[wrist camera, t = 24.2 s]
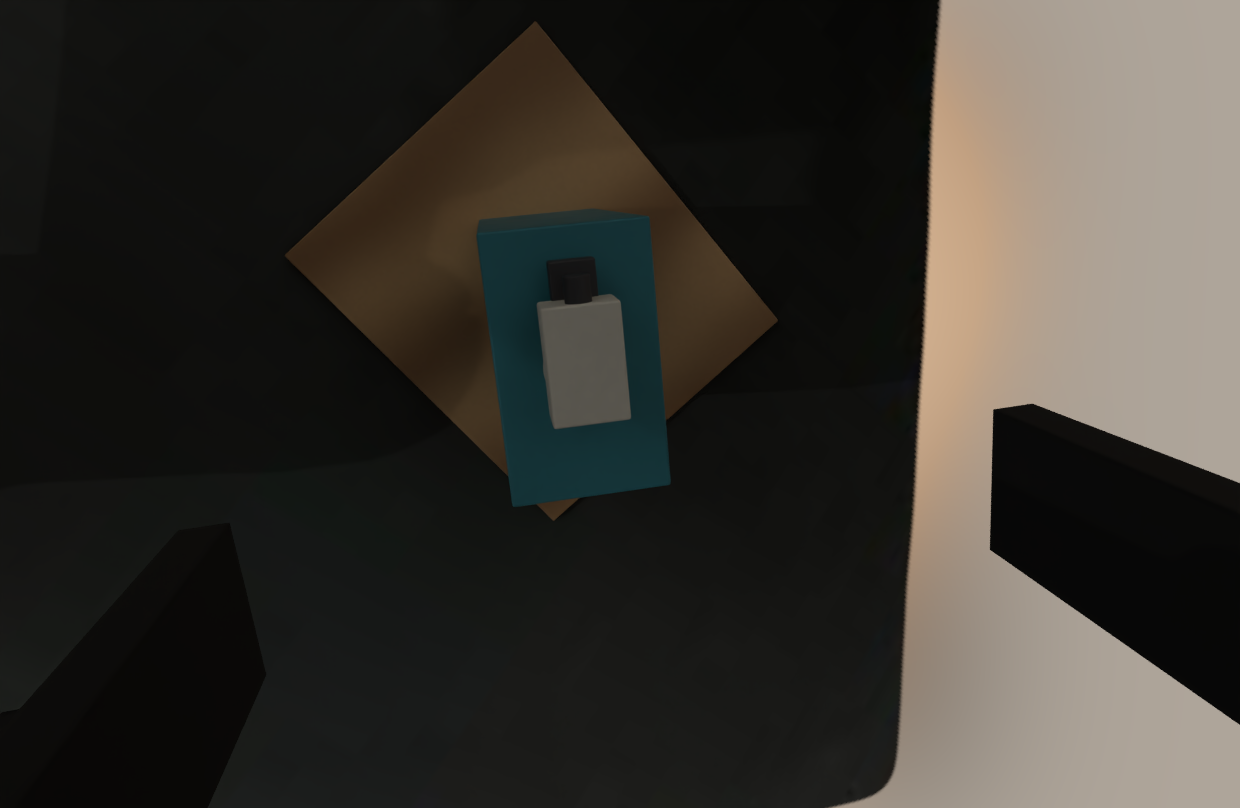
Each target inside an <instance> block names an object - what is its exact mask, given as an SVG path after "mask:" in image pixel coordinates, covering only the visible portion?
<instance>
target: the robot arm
mask: <svg viewBox="0 0 1240 808" xmlns="http://www.w3.org/2000/svg"><path fill="white" fill-rule="evenodd" d="M991 491H992V492H991V529H990V550H991V551H993V552H994V553H995V554H997V555H998V556H1000V557H1001V558H1003V559H1005V561H1007V562H1008V563H1010V564H1012V565H1013V566H1014V567H1015V568H1017V569H1018V570H1020V571H1021V572H1023V573H1024V574H1025V575H1027V576H1028V577H1030V578H1031V579H1033V580H1034V581H1036V582H1037V583H1038V584H1040V585H1041V586H1043V587H1044V588H1045V589H1047V590H1048V591H1050V592H1051V593H1053V594H1054V595H1055V596H1057V597H1058V598H1060V599H1061V600H1063V601H1064V602H1065V603H1067V604H1068V605H1070V606H1071V607H1073V608H1074V609H1075V610H1077V611H1078V612H1080V613H1081V614H1083V615H1084V616H1085V617H1087V618H1088V619H1090V620H1091V621H1093V622H1094V623H1095V624H1097V625H1098V626H1100V627H1101V628H1102V629H1104V630H1105V631H1107V632H1108V633H1110V634H1111V635H1112V636H1114V637H1115V638H1117V639H1118V640H1120V641H1121V642H1123V643H1124V644H1125V645H1127V646H1129V647H1130V648H1131V649H1133V650H1134V651H1135V652H1137V653H1138V654H1140V655H1141V656H1142V657H1144V658H1145V659H1147V660H1148V661H1150V662H1151V663H1152V664H1154V665H1155V666H1157V667H1158V668H1160V669H1161V670H1163V671H1164V672H1165V673H1167V674H1168V675H1170V676H1171V677H1173V678H1174V679H1175V680H1177V681H1178V682H1180V683H1181V684H1182V685H1184V686H1185V687H1187V688H1188V689H1190V690H1191V691H1192V692H1194V693H1195V694H1197V695H1198V696H1200V697H1201V698H1202V699H1204V700H1205V701H1207V702H1208V703H1210V704H1211V705H1212V706H1214V707H1215V708H1217V709H1218V710H1220V711H1221V712H1223V713H1224V714H1225V715H1227V716H1228V717H1229V718H1231V719H1232V720H1234V721H1235V722H1237V723H1238V724H1240V483H1238V482H1235V481H1233V480H1230V479H1227V478H1225V477H1222V476H1220V475H1217V474H1214V473H1211V472H1209V471H1207V470H1204V469H1201V468H1199V467H1196V466H1193V465H1191V464H1188V463H1186V462H1183V461H1181V460H1178V459H1175V458H1173V457H1170V456H1168V455H1165V454H1162V453H1160V452H1157V451H1154V450H1152V449H1149V448H1147V447H1144V446H1141V445H1139V444H1136V443H1134V442H1131V441H1128V440H1126V439H1123V438H1121V437H1118V436H1115V435H1113V434H1110V433H1107V432H1105V431H1102V430H1099V429H1097V428H1094V427H1092V426H1089V425H1087V424H1084V423H1081V422H1079V421H1076V420H1073V419H1071V418H1068V417H1066V416H1063V415H1061V414H1058V413H1055V412H1052V411H1050V410H1047V409H1045V408H1042V407H1040V406H1037V405H1034V404H1027V405H1021V406H1014V407H1008V408H1001V409H994V410H993V449H992V490H991ZM265 676H266V672H265V668H264V664H263V660H262V655H261V651H260V647H259V643H258V639H257V635H256V631H255V626H254V622H253V618H252V614H251V610H250V606H249V602H248V597H247V593H246V589H245V585H244V581H243V577H242V573H241V568H240V564H239V560H238V556H237V552H236V548H235V544H234V539H233V535H232V531H231V527H230V523H225V524H218V525H212V526H205V527H198V528H191V529H185V530H178V532H177V533H176V534H175V535H174V536H173V537H172V538H171V539H170V541H169V542H168V543H167V544H166V545H165V546H164V547H163V548H162V550H161V551H160V552H159V553H158V554H157V555H156V556H155V557H154V559H153V560H152V561H151V562H150V563H149V564H148V565H147V566H146V568H145V569H144V570H143V571H142V572H141V573H140V574H139V575H138V577H137V578H136V579H135V580H134V581H133V582H132V583H131V584H130V586H129V587H128V588H127V589H126V590H125V591H124V592H123V594H122V595H121V596H120V597H119V598H118V599H117V600H116V601H115V603H114V604H113V605H112V606H111V607H110V608H109V609H108V610H107V612H106V613H105V614H104V615H103V616H102V617H101V618H100V619H99V621H98V622H97V623H96V624H95V625H94V626H93V627H92V628H91V630H90V631H89V632H88V633H87V634H86V635H85V636H84V637H83V639H82V640H81V641H80V642H79V643H78V644H77V645H76V646H75V648H74V649H73V650H72V651H71V652H70V653H69V654H68V655H67V657H66V658H65V659H64V660H63V661H62V662H61V663H60V664H59V666H58V667H57V668H56V669H55V670H54V671H53V672H52V673H51V675H50V676H49V677H48V678H47V679H46V680H45V681H44V682H43V684H42V685H41V686H40V687H39V688H38V689H37V690H36V692H35V693H34V694H33V695H32V696H31V697H30V698H29V699H28V701H27V702H26V703H25V704H24V705H23V706H22V707H21V708H20V709H18V710H13V711H7V712H2V713H1V714H0V808H208V806H209V803H210V801H211V799H212V797H213V794H214V792H215V790H216V788H217V785H218V783H219V781H220V778H221V776H222V774H223V772H224V769H225V767H226V765H227V763H228V760H229V758H230V756H231V753H232V751H233V749H234V747H235V744H236V742H237V740H238V738H239V735H240V733H241V731H242V729H243V726H244V724H245V722H246V719H247V717H248V715H249V713H250V710H251V708H252V706H253V704H254V701H255V699H256V697H257V695H258V692H259V690H260V688H261V685H262V683H263V681H264V679H265Z"/></svg>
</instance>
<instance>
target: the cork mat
mask: <svg viewBox="0 0 1240 808" xmlns="http://www.w3.org/2000/svg"><path fill="white" fill-rule="evenodd" d="M591 208H594V209H601V210H608V211H615V212H623V213H630V214H637V215H644V216H649V218H650V228H651V241H652V253H653V266H654V279H655V291H656V304H657V316H658V329H659V342H660V354H661V367H662V379H663V392H664V405H665V417H666V420H667V419H668V418H670V417H671V416H672V415H673V414H674V413H675V412H676V411H677V410H678V409H680V408H681V407H682V406H683V405H684V404H685V403H686V402H687V401H689V400H690V399H691V398H692V397H693V396H694V395H695V394H696V393H698V392H699V391H700V390H701V389H702V388H703V387H704V386H705V385H707V384H708V383H709V382H710V381H711V380H712V379H713V378H714V377H715V376H717V375H718V374H719V373H720V372H721V371H722V370H723V369H724V368H726V367H727V366H728V365H729V364H730V363H731V362H732V361H733V360H735V359H736V358H737V357H738V356H739V355H740V354H741V353H742V352H743V351H745V350H746V349H747V348H748V347H749V346H750V345H751V344H752V343H754V342H755V341H756V340H757V339H758V338H759V337H760V336H761V335H763V334H764V333H765V332H766V331H767V330H768V329H769V328H770V327H772V326H773V325H774V324H775V323H776V322H777V321H778V319H777V318H776V317H775V316H774V314H773V313H772V312H771V311H770V310H769V308H768V307H767V306H766V305H765V303H764V302H763V301H762V300H761V298H760V297H759V296H758V295H757V294H756V292H755V291H754V290H753V289H752V287H751V286H750V285H749V284H748V282H747V281H746V280H745V279H744V277H743V276H742V275H741V274H740V273H739V271H738V270H737V269H736V268H735V266H734V265H733V264H732V263H731V261H730V260H729V259H728V258H727V256H726V255H725V254H724V253H723V252H722V250H721V249H720V248H719V247H718V245H717V244H716V243H715V242H714V240H713V239H712V238H711V237H710V236H709V234H708V233H707V232H706V231H705V229H704V228H703V227H702V226H701V224H700V223H699V222H698V221H697V219H696V218H695V217H694V216H693V215H692V213H691V212H690V211H689V210H688V208H687V207H686V206H685V205H684V203H683V202H682V201H681V200H680V199H679V197H678V196H677V195H676V194H675V192H674V191H673V190H672V189H671V187H670V186H669V185H668V184H667V182H666V181H665V180H664V179H663V178H662V176H661V175H660V174H659V173H658V171H657V170H656V169H655V168H654V166H653V165H652V164H651V163H650V162H649V160H648V159H647V158H646V157H645V155H644V154H643V153H642V152H641V150H640V149H639V148H638V147H637V145H636V144H635V143H634V142H633V141H632V139H631V138H630V137H629V136H628V134H627V133H626V132H625V131H624V129H623V128H622V127H621V126H620V124H619V123H618V122H617V121H616V120H615V118H614V117H613V116H612V115H611V113H610V112H609V111H608V110H607V108H606V107H605V106H604V105H603V104H602V102H601V101H600V100H599V99H598V97H597V96H596V95H595V94H594V92H593V91H592V90H591V89H590V87H589V86H588V85H587V84H586V83H585V81H584V80H583V79H582V78H581V76H580V75H579V74H578V73H577V71H576V70H575V69H574V68H573V67H572V65H571V64H570V63H569V62H568V60H567V59H566V58H565V57H564V55H563V54H562V53H561V52H560V50H559V49H558V48H557V47H556V46H555V44H554V43H553V42H552V41H551V39H550V38H549V37H548V36H547V34H546V33H545V32H544V31H543V30H542V28H541V27H540V26H539V25H538V23H537V22H534V23H533V24H532V25H531V26H530V27H529V28H528V29H526V30H525V31H524V32H523V33H522V34H521V35H520V36H519V37H518V38H517V39H516V40H515V41H514V42H513V43H511V44H510V45H509V46H508V47H507V48H506V49H505V50H504V51H503V52H502V53H501V54H500V55H499V56H498V57H496V58H495V59H494V60H493V61H492V62H491V63H490V64H489V65H488V66H487V67H486V68H485V69H484V70H483V71H481V72H480V73H479V74H478V75H477V76H476V77H475V78H474V79H473V80H472V81H471V82H470V83H469V84H468V85H466V86H465V87H464V88H463V89H462V90H461V91H460V92H459V93H458V94H457V95H456V96H455V97H454V98H453V99H451V100H450V101H449V102H448V103H447V104H446V105H445V106H444V107H443V108H442V109H441V110H440V111H439V112H438V113H436V114H435V115H434V116H433V117H432V118H431V119H430V120H429V121H428V122H427V123H426V124H425V125H424V126H423V127H421V128H420V129H419V130H418V131H417V132H416V133H415V134H414V135H413V136H412V137H411V138H410V139H409V140H408V141H406V142H405V143H404V144H403V145H402V146H401V147H400V148H399V149H398V150H397V151H396V152H395V153H394V154H393V155H391V156H390V157H389V158H388V159H387V160H386V161H385V162H384V163H383V164H382V165H381V166H380V167H379V168H378V169H376V170H375V171H374V172H373V173H372V174H371V175H370V176H369V177H368V178H367V179H366V180H365V181H364V182H362V183H361V184H360V185H359V186H358V187H357V188H356V189H355V190H354V191H353V192H352V193H351V194H350V195H349V196H347V197H346V198H345V199H344V200H343V201H342V202H341V203H340V204H339V205H338V206H337V207H336V208H335V209H334V210H332V211H331V212H330V213H329V214H328V215H327V216H326V217H325V218H324V219H323V220H322V221H321V222H320V223H319V224H317V225H316V226H315V227H314V228H313V229H312V230H311V231H310V232H309V233H308V234H307V235H306V236H305V237H304V238H302V239H301V240H300V241H299V242H298V243H297V244H296V245H295V246H294V247H293V248H292V249H291V250H290V251H289V252H287V253H286V254H285V257H286V258H287V259H288V260H289V261H290V262H291V263H292V264H293V265H294V266H295V267H296V268H297V269H298V270H299V271H300V272H301V273H302V274H303V275H304V276H305V277H306V278H307V279H309V280H310V281H311V282H312V283H313V284H314V285H315V286H316V287H317V288H318V289H319V290H320V291H321V292H322V293H323V294H324V295H325V296H326V297H327V298H328V299H329V300H330V301H331V302H332V303H333V304H334V305H335V306H336V307H337V308H338V309H339V310H340V311H341V312H342V313H343V314H344V315H345V316H346V317H347V318H348V319H349V320H350V321H351V322H352V323H353V324H354V325H355V326H356V327H357V328H358V329H359V330H360V331H361V332H362V333H363V334H364V335H365V336H366V337H367V338H368V339H369V340H370V341H371V342H372V343H373V344H374V345H376V346H377V347H378V348H379V349H380V350H381V351H382V352H383V353H384V354H385V355H386V356H387V357H388V358H389V359H390V360H391V361H392V362H393V363H394V364H395V365H396V366H397V367H398V368H399V369H400V370H401V371H402V372H403V373H404V374H405V375H406V376H407V377H408V378H409V379H410V380H411V381H412V382H413V383H414V384H415V385H416V386H417V387H418V388H419V389H420V390H421V391H422V392H423V393H424V394H425V395H426V396H427V397H428V398H429V399H430V400H431V401H432V402H433V403H434V404H435V405H436V406H437V407H438V408H439V409H440V410H442V411H443V412H444V413H445V414H446V415H447V416H448V417H449V418H450V419H451V420H452V421H453V422H454V423H455V424H456V425H457V426H458V427H459V428H460V429H461V430H462V431H463V432H464V433H465V434H466V435H467V436H468V437H469V438H470V439H471V440H472V441H473V442H474V443H475V444H476V445H477V446H478V447H479V448H480V449H481V450H482V451H483V452H484V453H485V454H486V455H487V456H488V457H489V458H490V459H491V460H492V461H493V462H494V463H495V464H496V465H497V466H498V467H499V468H500V469H501V470H502V471H503V472H504V473H505V474H506V475H508V469H507V461H506V454H505V447H504V439H503V432H502V424H501V417H500V409H499V402H498V394H497V387H496V380H495V372H494V365H493V357H492V350H491V342H490V335H489V327H488V320H487V312H486V305H485V298H484V290H483V283H482V275H481V268H480V260H479V253H478V245H477V238H476V235H477V229H478V224H479V220H480V219H490V218H500V217H510V216H520V215H530V214H540V213H551V212H561V211H571V210H581V209H591ZM578 499H579V498H575V499H568V500H561V501H554V502H547V503H540V504H537V505H538V506H539V507H540V508H541V509H542V510H543V511H544V512H545V513H546V514H547V515H548V516H549V517H550V518H551V519H552V520H555V519H556V518H557V517H559V516H560V515H561V514H562V513H563V512H564V511H565V510H566V509H567V508H569V507H570V506H571V505H572V504H573V503H574V502H575V501H576V500H578Z"/></svg>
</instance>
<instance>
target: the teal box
mask: <svg viewBox="0 0 1240 808" xmlns="http://www.w3.org/2000/svg"><path fill="white" fill-rule="evenodd" d="M476 238H477V245H478V253H479V260H480V268H481V275H482V283H483V290H484V298H485V305H486V312H487V320H488V327H489V335H490V342H491V350H492V357H493V365H494V372H495V380H496V387H497V394H498V402H499V409H500V417H501V424H502V432H503V439H504V447H505V454H506V461H507V469H508V476H509V484H510V491H511V499H512V505H513V507H519V506H526V505H533V504H540V503H547V502H554V501H561V500H568V499H575V498H582V497H589V496H596V495H603V494H610V493H616V492H623V491H630V490H637V489H644V488H651V487H658V486H665V485H670V483H671V480H670V468H669V455H668V442H667V430H666V417H665V405H664V392H663V379H662V367H661V354H660V342H659V329H658V316H657V304H656V291H655V279H654V266H653V253H652V241H651V228H650V218H649V216H644V215H637V214H630V213H623V212H615V211H608V210H601V209H594V208H591V209H581V210H571V211H561V212H551V213H540V214H530V215H520V216H510V217H500V218H490V219H480V220H479V224H478V229H477V235H476Z"/></svg>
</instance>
